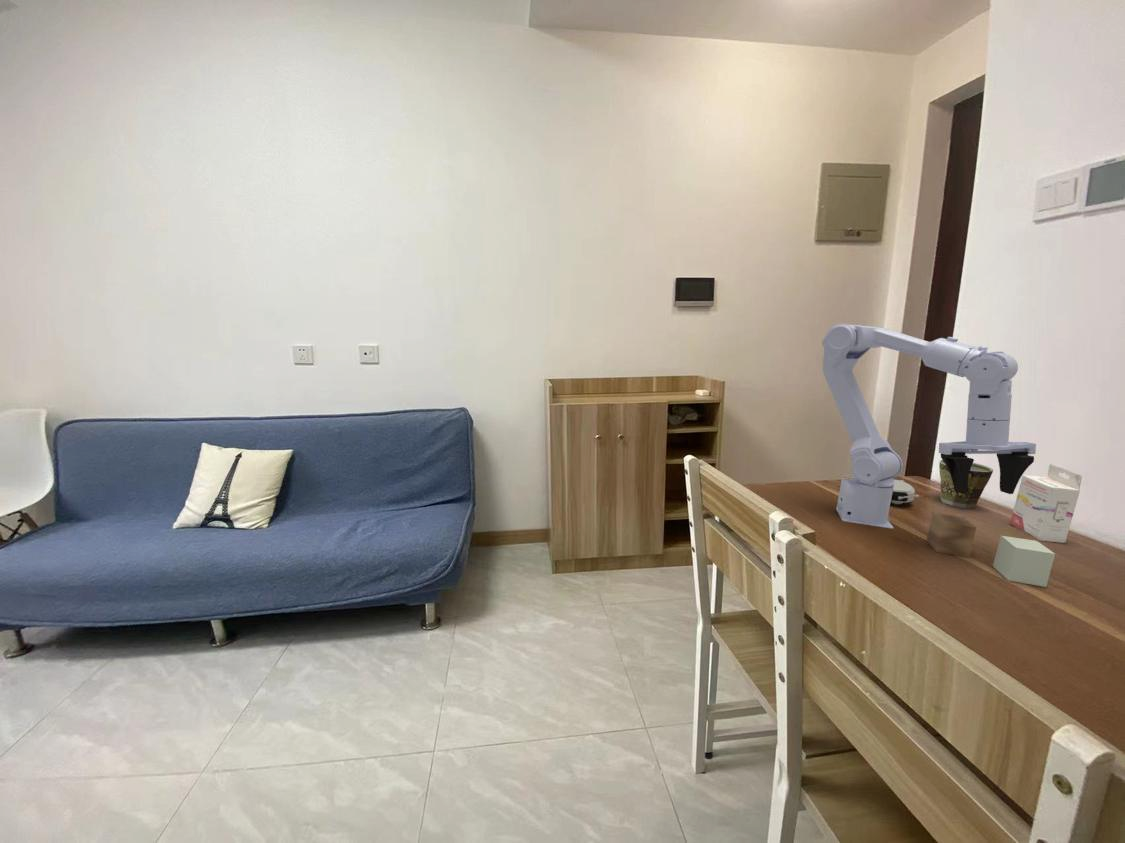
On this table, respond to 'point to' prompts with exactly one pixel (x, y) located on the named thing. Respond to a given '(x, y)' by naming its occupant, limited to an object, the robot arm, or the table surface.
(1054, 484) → the ink cartridge box
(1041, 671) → the table surface
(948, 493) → the ceramic cup
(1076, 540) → the table surface
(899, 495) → the robot toy
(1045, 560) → the sage block
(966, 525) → the walnut block
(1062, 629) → the table surface
